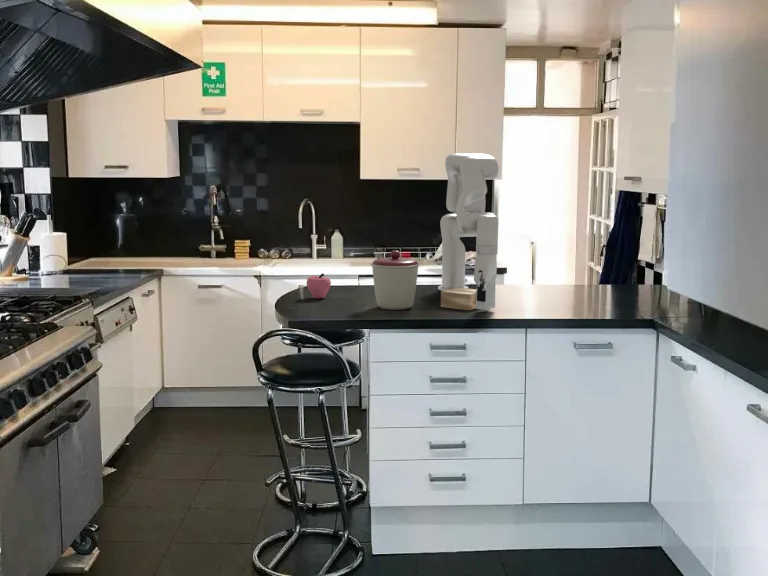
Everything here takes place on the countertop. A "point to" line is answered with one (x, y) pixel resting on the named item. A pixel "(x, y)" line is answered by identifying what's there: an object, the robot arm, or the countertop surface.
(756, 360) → the countertop surface
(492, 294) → the skincare box
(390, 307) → the canister
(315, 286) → the apple
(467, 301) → the oak block
